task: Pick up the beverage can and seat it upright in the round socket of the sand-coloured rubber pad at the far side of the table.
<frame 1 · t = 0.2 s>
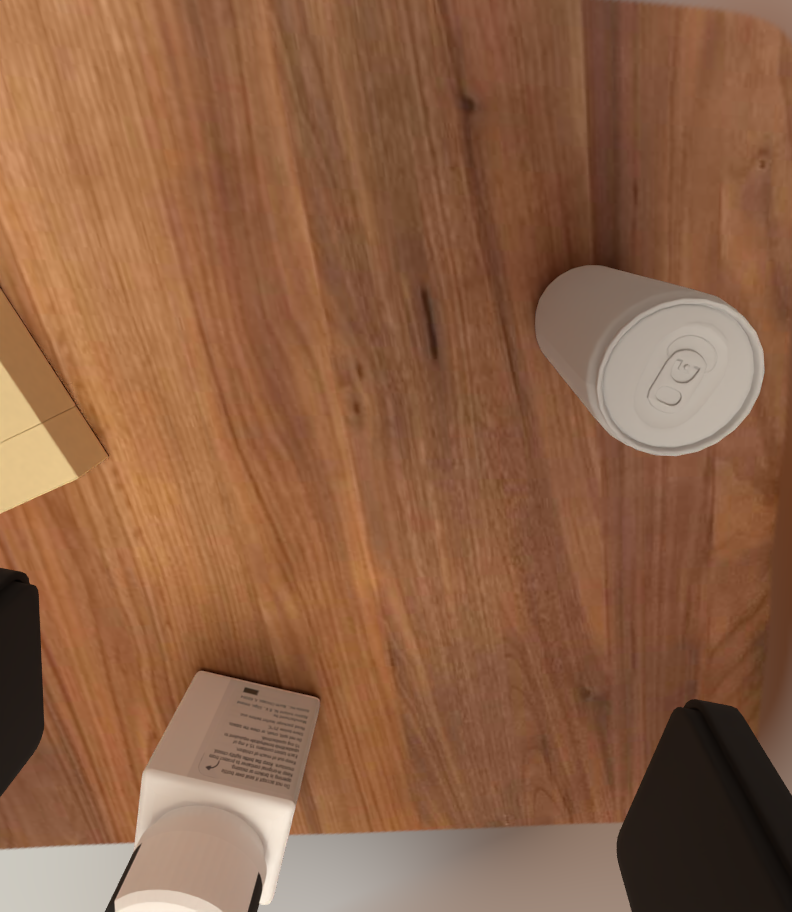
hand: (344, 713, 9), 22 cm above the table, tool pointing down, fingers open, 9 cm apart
beverage can: (583, 317, 29), on the table
container: (252, 726, 39), on the table
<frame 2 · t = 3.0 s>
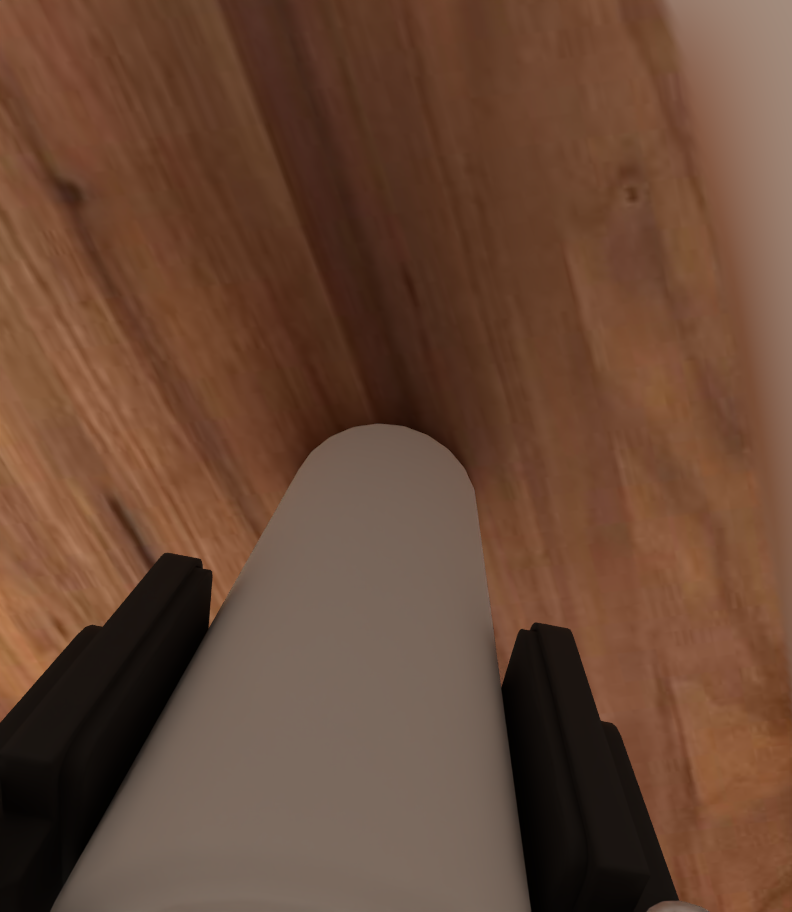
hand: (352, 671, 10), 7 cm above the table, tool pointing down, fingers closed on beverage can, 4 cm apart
beverage can: (385, 499, 16), on the table, touching gripper
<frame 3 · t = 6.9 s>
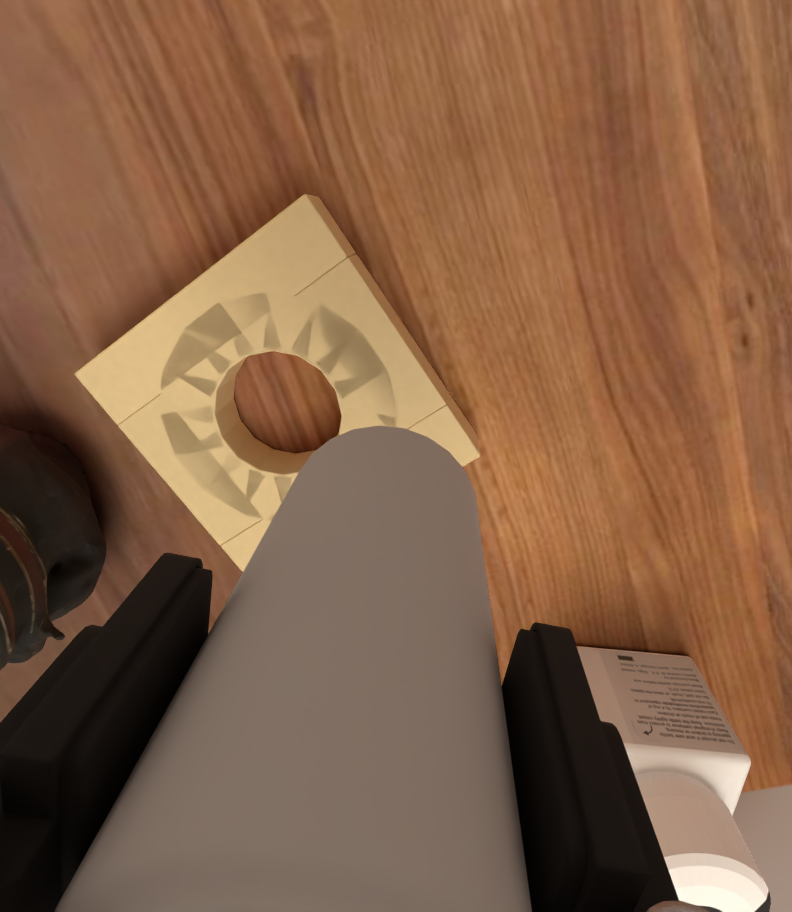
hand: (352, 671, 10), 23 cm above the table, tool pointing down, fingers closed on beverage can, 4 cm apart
coffee grinder: (44, 523, 36), on the table
socket pad: (291, 398, 32), on the table
beverage can: (385, 501, 16), point 16 cm above the table, touching gripper
container: (612, 696, 38), on the table
when the fingers open (7 cm above the table, at t = 11.0 s): beverage can stays where it is, resting in socket pad.
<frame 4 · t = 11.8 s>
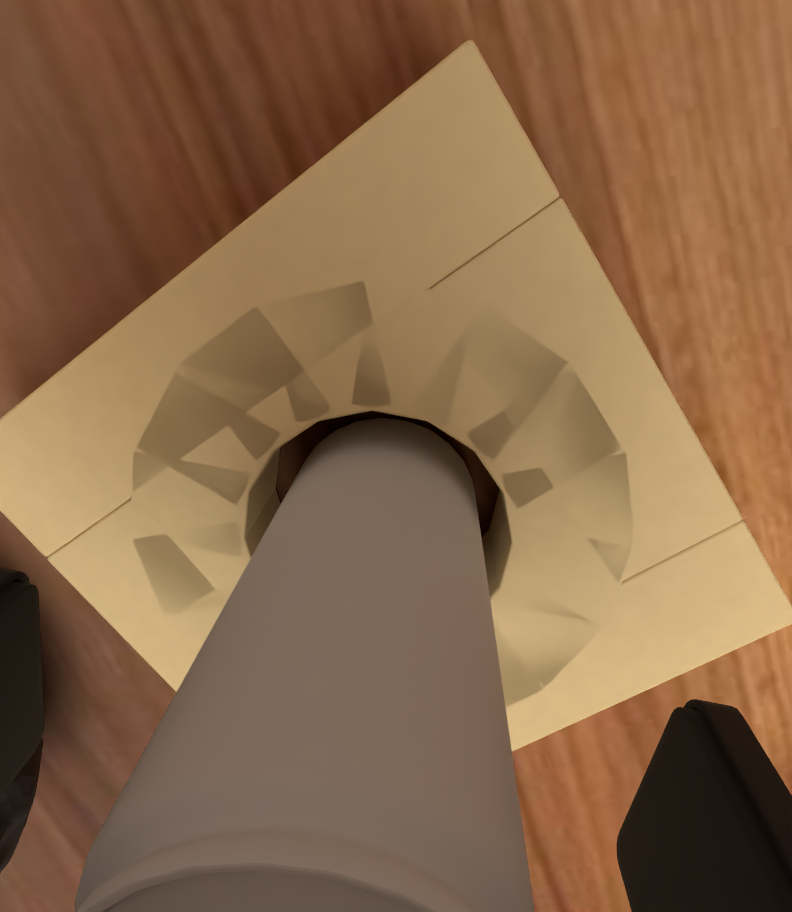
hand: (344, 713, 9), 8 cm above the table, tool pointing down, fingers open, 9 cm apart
socket pad: (386, 487, 17), on the table
beverage can: (387, 492, 17), resting in socket pad
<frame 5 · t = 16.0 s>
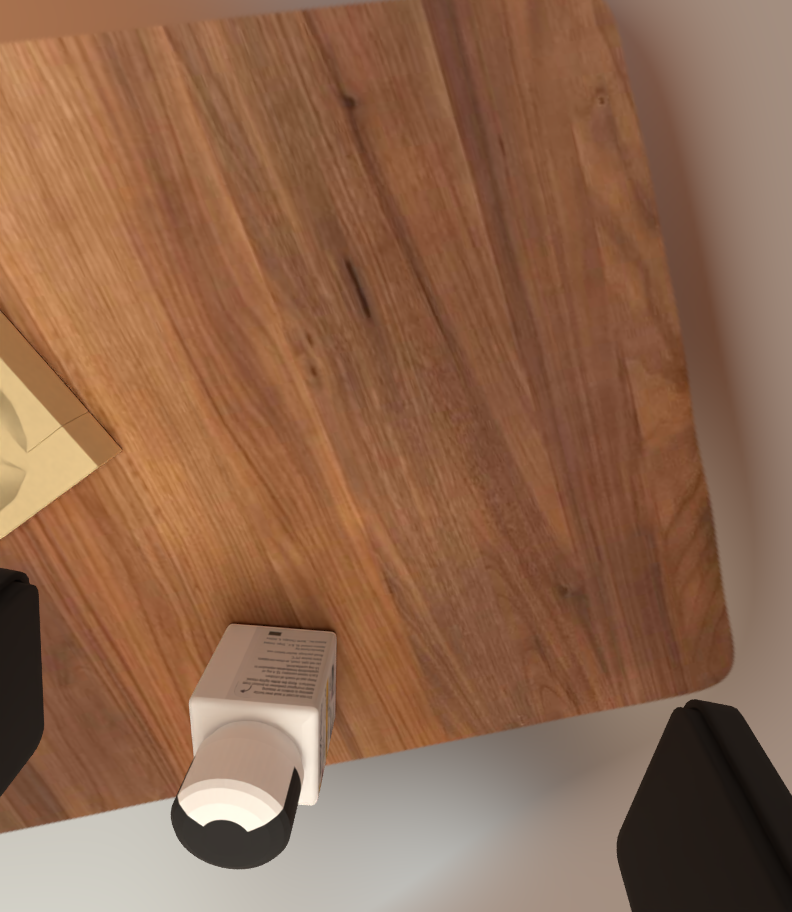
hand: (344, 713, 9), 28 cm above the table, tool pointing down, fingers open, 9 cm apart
container: (284, 667, 44), on the table
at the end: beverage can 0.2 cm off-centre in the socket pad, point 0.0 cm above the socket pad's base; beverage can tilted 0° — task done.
